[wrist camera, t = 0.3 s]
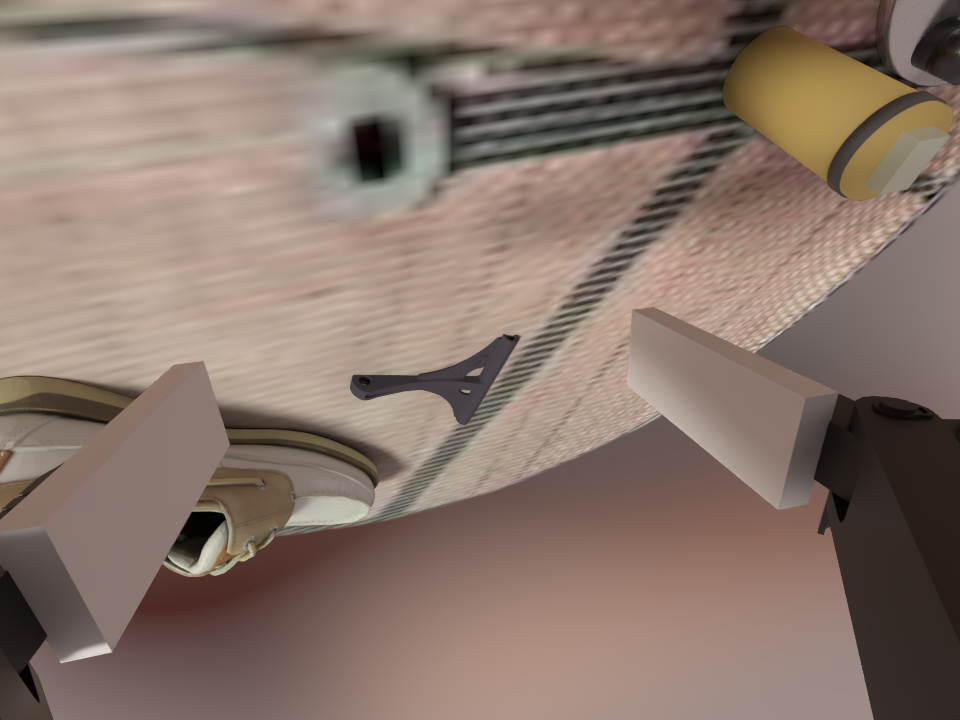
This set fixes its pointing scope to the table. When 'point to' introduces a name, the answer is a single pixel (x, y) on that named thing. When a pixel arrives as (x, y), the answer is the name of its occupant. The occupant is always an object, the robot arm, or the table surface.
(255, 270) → the table surface
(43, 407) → the boat shoe
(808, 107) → the travel mug
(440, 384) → the bracket
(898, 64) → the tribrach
